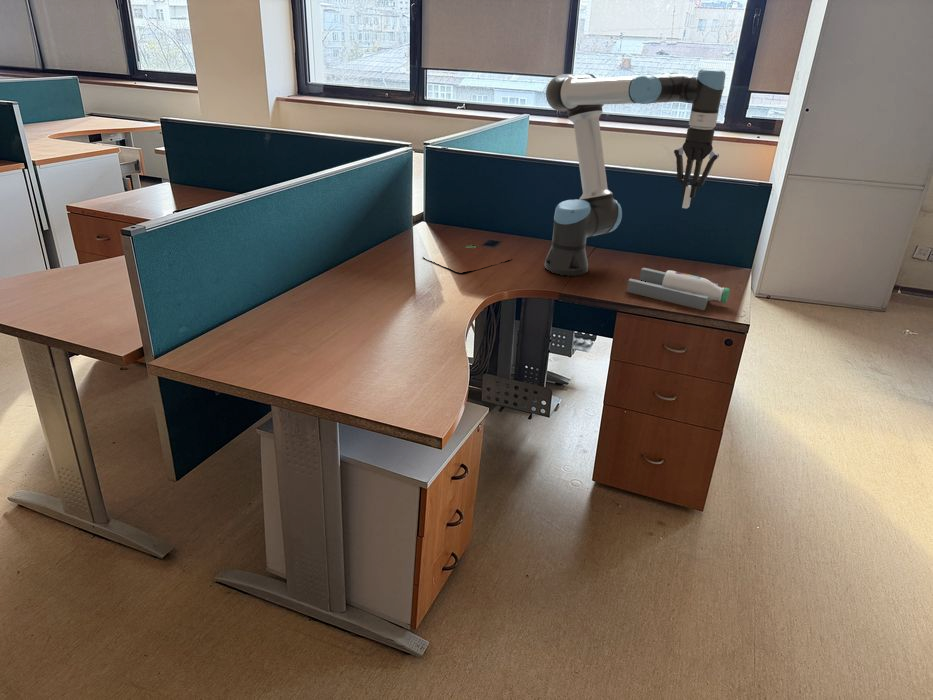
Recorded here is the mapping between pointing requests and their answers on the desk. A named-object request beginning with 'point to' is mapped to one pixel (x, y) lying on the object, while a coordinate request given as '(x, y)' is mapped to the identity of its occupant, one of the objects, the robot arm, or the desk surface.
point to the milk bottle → (695, 285)
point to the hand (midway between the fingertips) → (685, 207)
